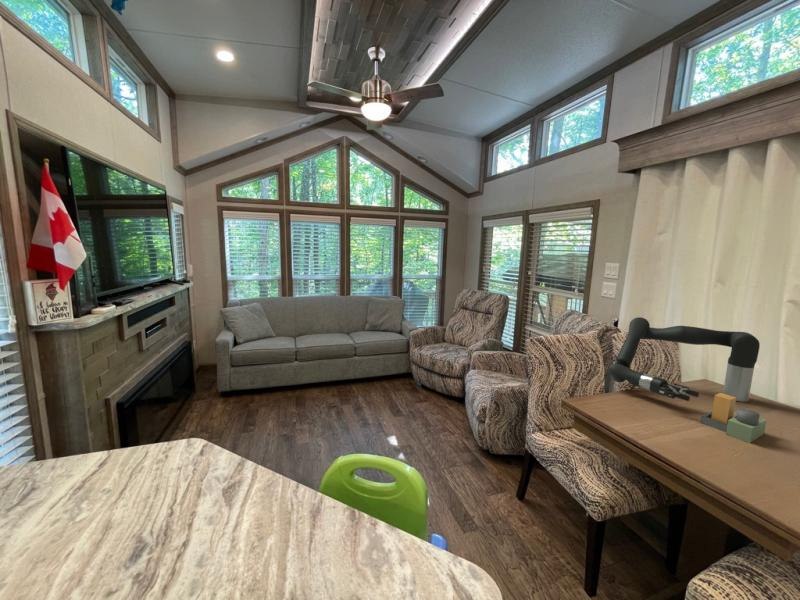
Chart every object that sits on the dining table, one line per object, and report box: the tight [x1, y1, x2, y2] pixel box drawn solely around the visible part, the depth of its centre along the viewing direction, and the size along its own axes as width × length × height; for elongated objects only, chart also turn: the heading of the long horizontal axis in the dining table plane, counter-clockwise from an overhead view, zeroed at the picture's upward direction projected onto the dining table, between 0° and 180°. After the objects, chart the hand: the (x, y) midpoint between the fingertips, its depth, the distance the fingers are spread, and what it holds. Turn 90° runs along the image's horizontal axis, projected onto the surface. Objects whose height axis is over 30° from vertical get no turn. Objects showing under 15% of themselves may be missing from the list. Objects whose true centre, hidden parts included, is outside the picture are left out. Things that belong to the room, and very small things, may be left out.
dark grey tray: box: [700, 410, 727, 433], centre depth 141 cm, size 10×9×3 cm
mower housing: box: [725, 408, 767, 444], centre depth 134 cm, size 14×7×10 cm, turn 117°
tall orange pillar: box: [711, 392, 737, 424], centre depth 140 cm, size 5×5×13 cm
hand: (694, 396), depth 148 cm, fingers open, 8 cm apart
